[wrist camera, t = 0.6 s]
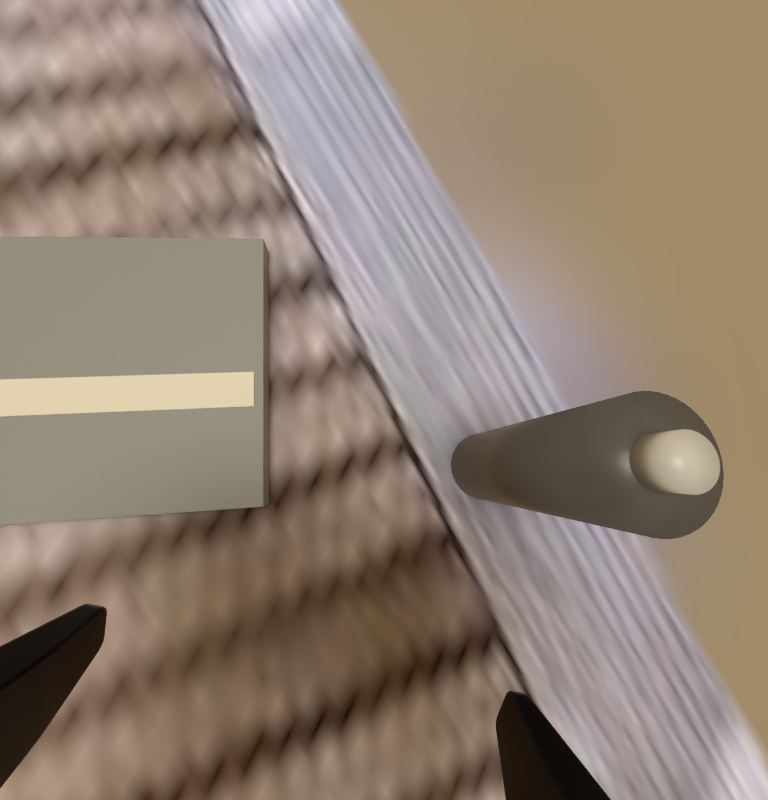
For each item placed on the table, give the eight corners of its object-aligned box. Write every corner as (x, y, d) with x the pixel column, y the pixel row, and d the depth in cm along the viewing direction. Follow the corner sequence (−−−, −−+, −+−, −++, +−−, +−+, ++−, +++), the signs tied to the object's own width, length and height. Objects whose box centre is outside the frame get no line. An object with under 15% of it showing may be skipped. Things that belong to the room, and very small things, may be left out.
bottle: (517, 496, 22) (782, 539, 9) (454, 501, 22) (631, 554, 8) (509, 432, 23) (742, 380, 10) (448, 435, 23) (602, 385, 9)
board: (268, 504, 21) (262, 506, 19) (-129, 531, 19) (-172, 537, 17) (268, 253, 24) (262, 237, 22) (-76, 251, 22) (-109, 234, 20)
